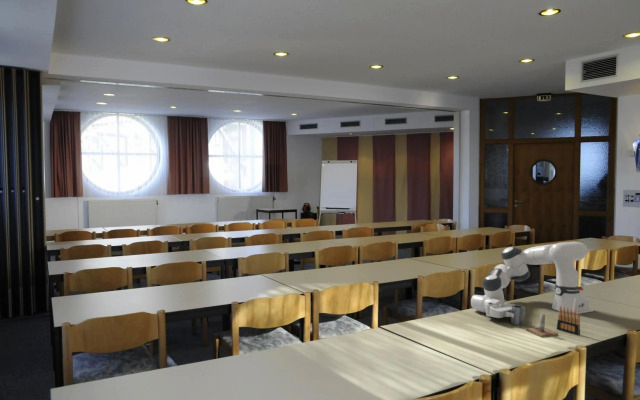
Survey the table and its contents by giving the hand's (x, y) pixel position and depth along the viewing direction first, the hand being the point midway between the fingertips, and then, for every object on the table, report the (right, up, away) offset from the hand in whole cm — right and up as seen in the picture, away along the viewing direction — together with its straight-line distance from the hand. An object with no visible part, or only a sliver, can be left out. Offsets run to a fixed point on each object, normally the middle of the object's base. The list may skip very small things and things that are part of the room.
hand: (519, 314), depth 255 cm
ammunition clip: (+20, -6, -10) cm, 23 cm away
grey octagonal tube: (-1, -5, +1) cm, 5 cm away
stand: (+6, -6, -13) cm, 15 cm away
